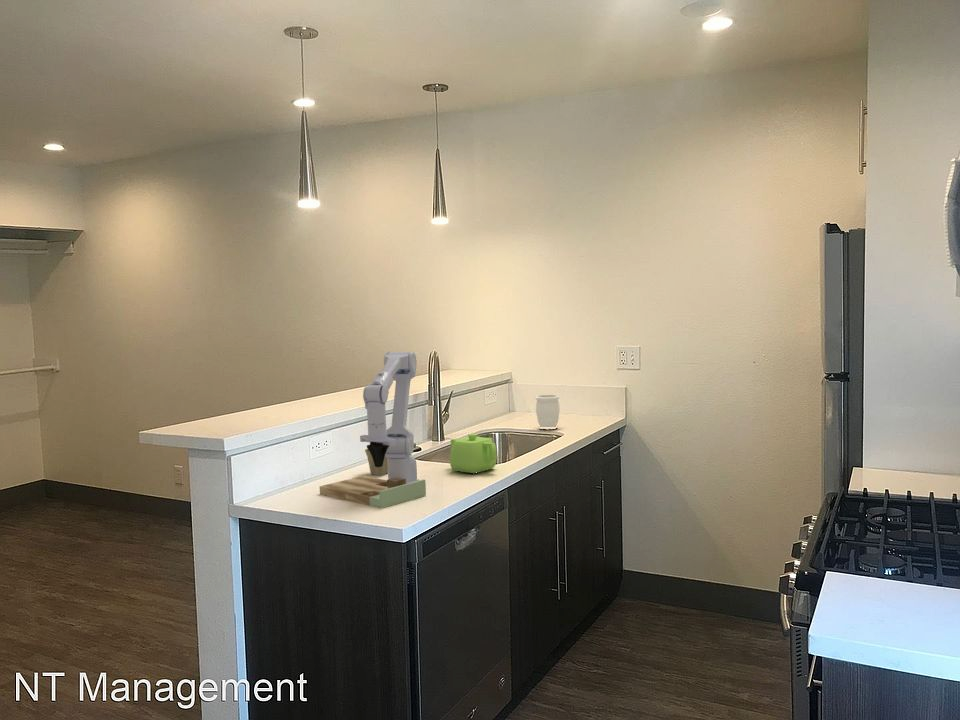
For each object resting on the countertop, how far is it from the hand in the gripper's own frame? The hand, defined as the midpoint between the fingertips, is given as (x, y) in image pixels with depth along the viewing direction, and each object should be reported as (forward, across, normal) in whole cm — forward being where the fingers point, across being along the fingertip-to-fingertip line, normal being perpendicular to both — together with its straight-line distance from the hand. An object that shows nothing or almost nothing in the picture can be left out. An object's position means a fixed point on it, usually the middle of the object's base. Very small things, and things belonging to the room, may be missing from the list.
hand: (378, 466), depth 253 cm
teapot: (+10, 0, +46) cm, 47 cm away
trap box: (+9, -3, 0) cm, 10 cm away
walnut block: (+7, +8, -1) cm, 11 cm away
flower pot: (+10, -25, +22) cm, 35 cm away
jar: (+10, -29, +127) cm, 130 cm away
